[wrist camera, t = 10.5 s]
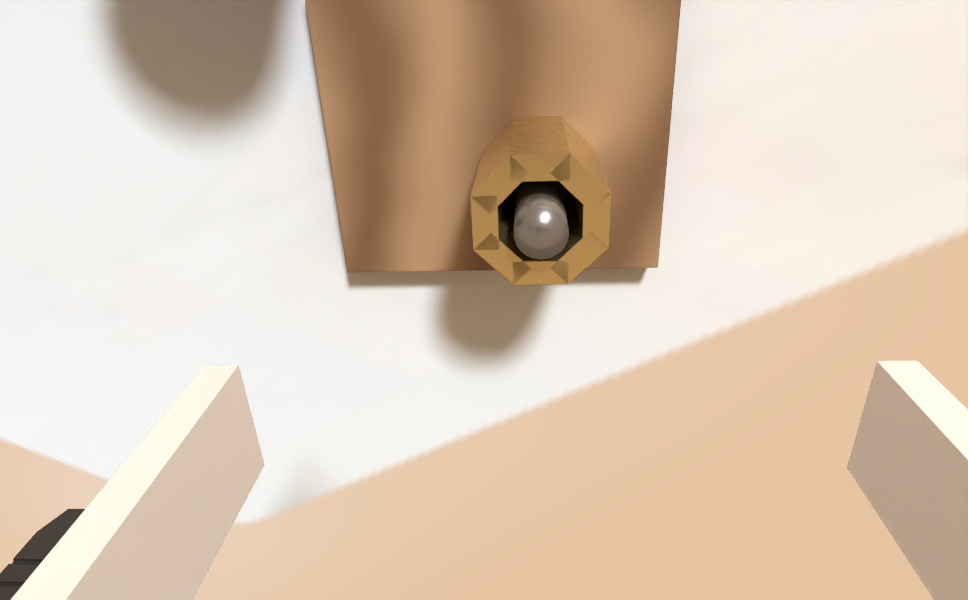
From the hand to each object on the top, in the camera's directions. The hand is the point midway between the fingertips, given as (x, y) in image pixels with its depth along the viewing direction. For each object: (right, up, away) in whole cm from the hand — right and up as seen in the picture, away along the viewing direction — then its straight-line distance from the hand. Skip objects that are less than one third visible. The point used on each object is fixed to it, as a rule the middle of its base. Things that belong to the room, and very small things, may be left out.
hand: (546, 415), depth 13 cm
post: (+1, +9, +17) cm, 19 cm away
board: (-1, +11, +17) cm, 20 cm away
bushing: (+1, +9, +17) cm, 19 cm away
